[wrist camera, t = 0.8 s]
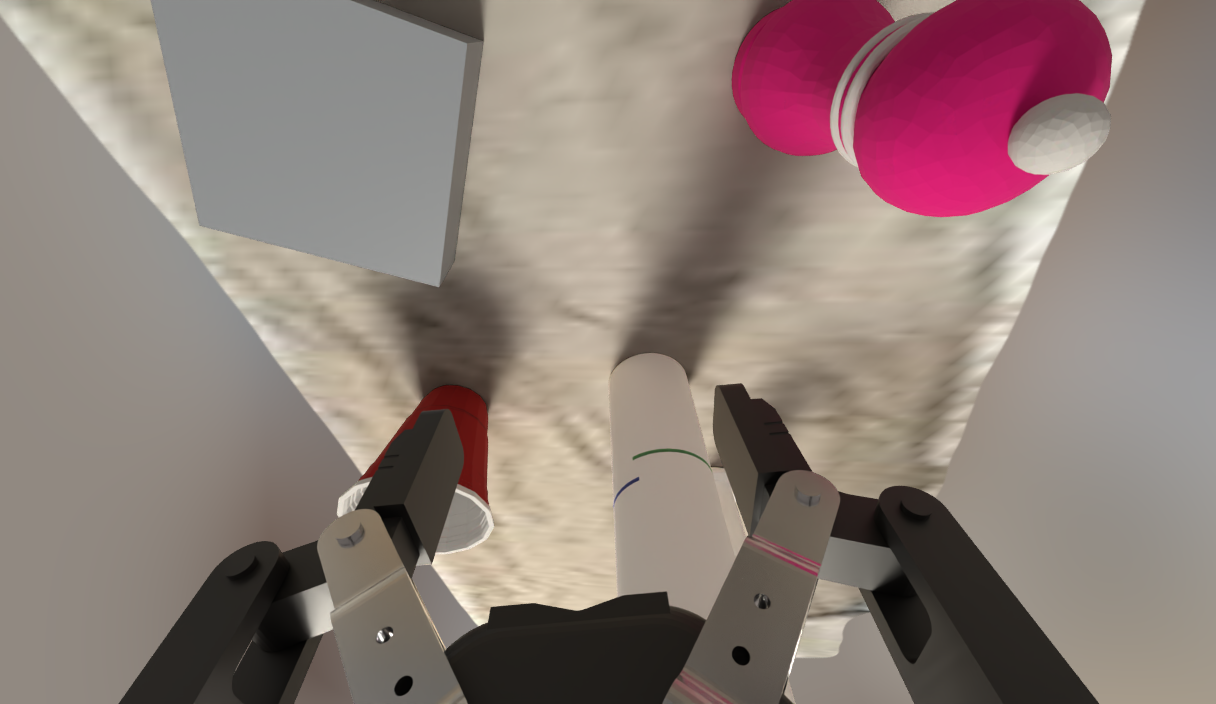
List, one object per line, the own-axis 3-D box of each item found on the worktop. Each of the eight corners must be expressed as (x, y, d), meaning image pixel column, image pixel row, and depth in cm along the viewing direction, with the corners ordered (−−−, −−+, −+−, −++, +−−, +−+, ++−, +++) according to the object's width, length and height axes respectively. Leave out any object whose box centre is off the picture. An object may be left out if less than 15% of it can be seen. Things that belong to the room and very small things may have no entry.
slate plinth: (200, -65, 22) (133, -81, 19) (483, 41, 25) (467, 43, 22) (242, 204, 30) (199, 225, 27) (454, 261, 33) (439, 287, 30)
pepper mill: (697, 91, 27) (856, 190, 11) (787, -42, 23) (1226, -196, 7) (781, 161, 29) (1013, 327, 13) (874, 50, 26) (1345, 91, 10)
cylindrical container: (592, 387, 40) (590, 748, 20) (648, 338, 37) (712, 705, 17) (647, 424, 43) (694, 770, 23) (703, 381, 40) (813, 737, 20)
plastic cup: (425, 454, 45) (378, 571, 35) (375, 373, 39) (302, 488, 29) (529, 441, 44) (511, 556, 35) (495, 355, 38) (462, 468, 28)
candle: (711, 513, 52) (784, 818, 32) (664, 493, 50) (713, 810, 30) (755, 481, 49) (867, 799, 29) (707, 457, 46) (795, 788, 26)
